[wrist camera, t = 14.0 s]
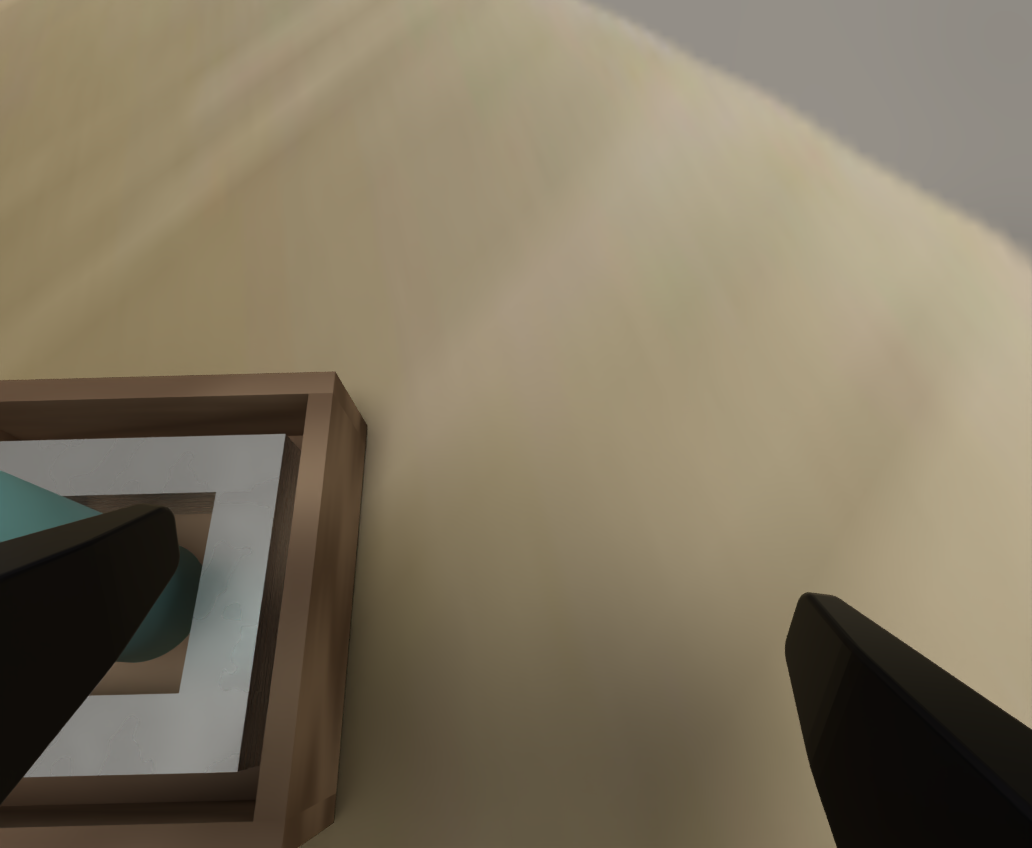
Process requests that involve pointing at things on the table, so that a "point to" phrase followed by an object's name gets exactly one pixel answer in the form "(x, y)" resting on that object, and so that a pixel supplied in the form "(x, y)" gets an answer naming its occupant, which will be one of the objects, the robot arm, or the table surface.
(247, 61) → the table surface
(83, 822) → the tray
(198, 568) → the peg
